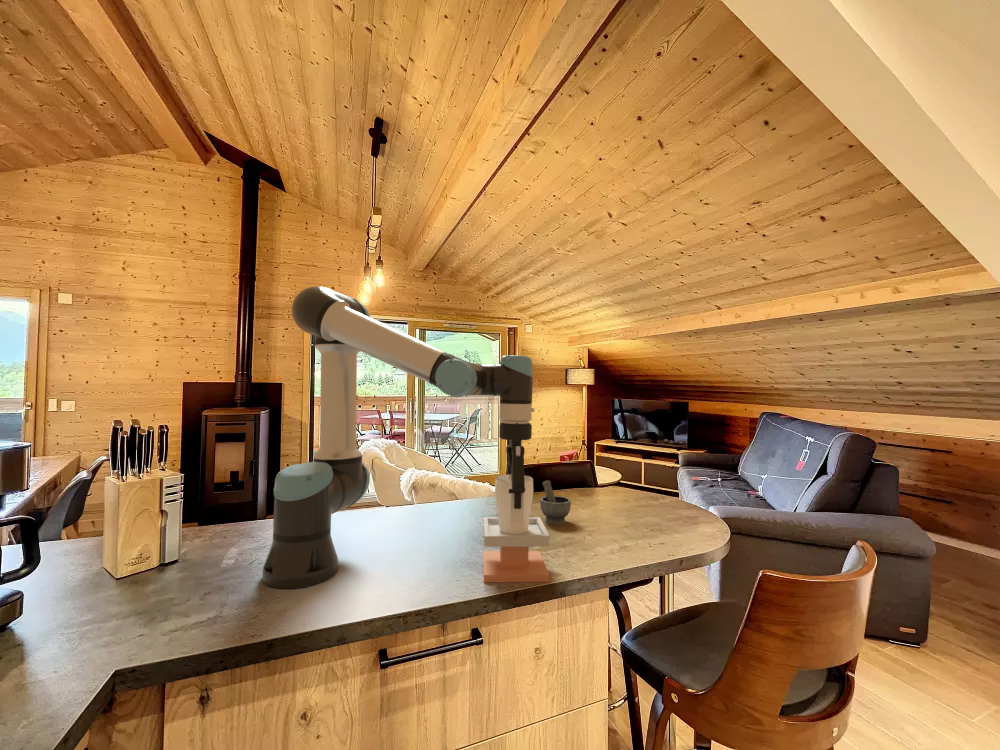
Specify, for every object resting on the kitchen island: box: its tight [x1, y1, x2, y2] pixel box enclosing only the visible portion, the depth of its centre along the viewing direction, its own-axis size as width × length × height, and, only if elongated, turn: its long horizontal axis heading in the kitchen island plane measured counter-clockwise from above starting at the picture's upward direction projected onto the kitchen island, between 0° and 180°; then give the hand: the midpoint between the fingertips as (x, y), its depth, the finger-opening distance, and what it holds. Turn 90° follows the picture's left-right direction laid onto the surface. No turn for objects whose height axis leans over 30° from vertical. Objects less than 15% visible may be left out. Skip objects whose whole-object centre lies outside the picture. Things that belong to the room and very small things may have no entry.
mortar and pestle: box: [539, 480, 572, 526], centre depth 139 cm, size 11×9×12 cm
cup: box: [494, 474, 534, 534], centre depth 103 cm, size 9×9×12 cm
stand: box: [482, 516, 550, 583], centre depth 102 cm, size 14×14×10 cm
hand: (514, 514), depth 102 cm, fingers open, 13 cm apart
